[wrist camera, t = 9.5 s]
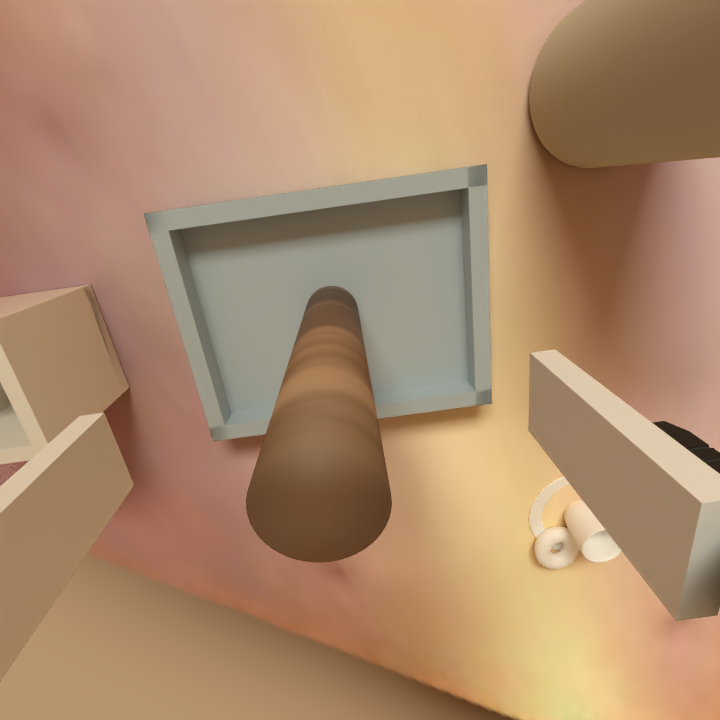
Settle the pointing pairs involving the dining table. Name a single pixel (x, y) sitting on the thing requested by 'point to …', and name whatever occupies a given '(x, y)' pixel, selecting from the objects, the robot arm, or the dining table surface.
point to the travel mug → (630, 83)
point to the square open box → (52, 367)
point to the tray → (342, 269)
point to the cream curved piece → (569, 533)
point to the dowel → (322, 443)
